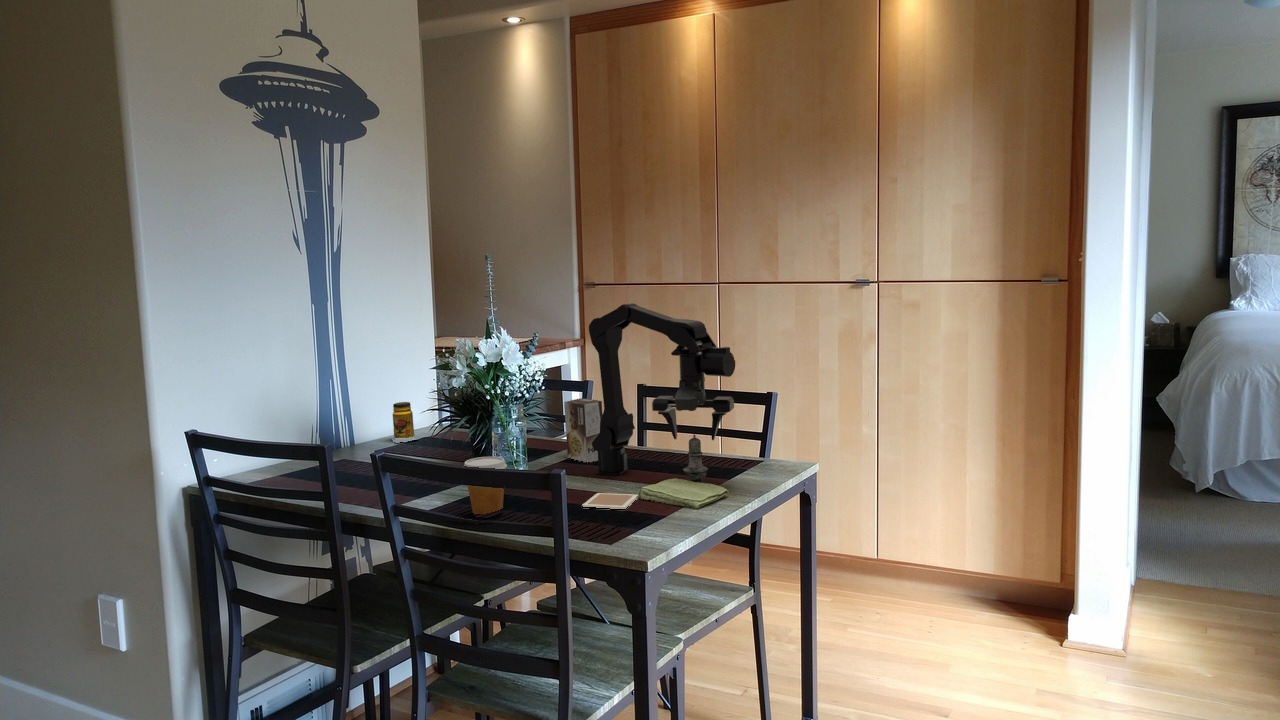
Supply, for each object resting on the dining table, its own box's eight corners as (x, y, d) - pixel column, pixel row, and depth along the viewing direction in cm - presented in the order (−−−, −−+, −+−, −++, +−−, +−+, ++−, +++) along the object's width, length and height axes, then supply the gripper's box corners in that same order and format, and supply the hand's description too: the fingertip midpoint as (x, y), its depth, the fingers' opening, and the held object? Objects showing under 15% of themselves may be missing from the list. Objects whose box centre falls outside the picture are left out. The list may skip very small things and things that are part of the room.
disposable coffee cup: (513, 507, 203) (510, 455, 202) (505, 520, 194) (502, 465, 192) (471, 509, 203) (467, 456, 202) (461, 522, 194) (457, 467, 192)
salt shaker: (706, 486, 214) (705, 436, 212) (682, 486, 215) (680, 436, 213) (709, 480, 219) (708, 431, 218) (685, 480, 221) (683, 431, 219)
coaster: (582, 508, 200) (582, 504, 200) (597, 495, 210) (597, 492, 210) (625, 510, 197) (625, 506, 197) (638, 497, 207) (638, 494, 207)
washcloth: (698, 512, 195) (698, 498, 194) (635, 501, 206) (634, 487, 206) (732, 498, 205) (731, 484, 205) (669, 487, 216) (669, 474, 216)
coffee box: (605, 459, 246) (602, 400, 245) (587, 463, 242) (584, 404, 240) (584, 454, 253) (581, 397, 251) (566, 458, 249) (563, 400, 247)
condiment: (395, 444, 278) (392, 405, 277) (389, 439, 286) (387, 402, 285) (419, 441, 282) (416, 403, 280) (413, 436, 289) (410, 399, 288)
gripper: (644, 379, 209) (646, 445, 211) (723, 380, 204) (725, 448, 205) (657, 372, 220) (659, 435, 222) (733, 372, 214) (735, 437, 216)
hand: (694, 439), depth 216 cm, fingers open, 9 cm apart
